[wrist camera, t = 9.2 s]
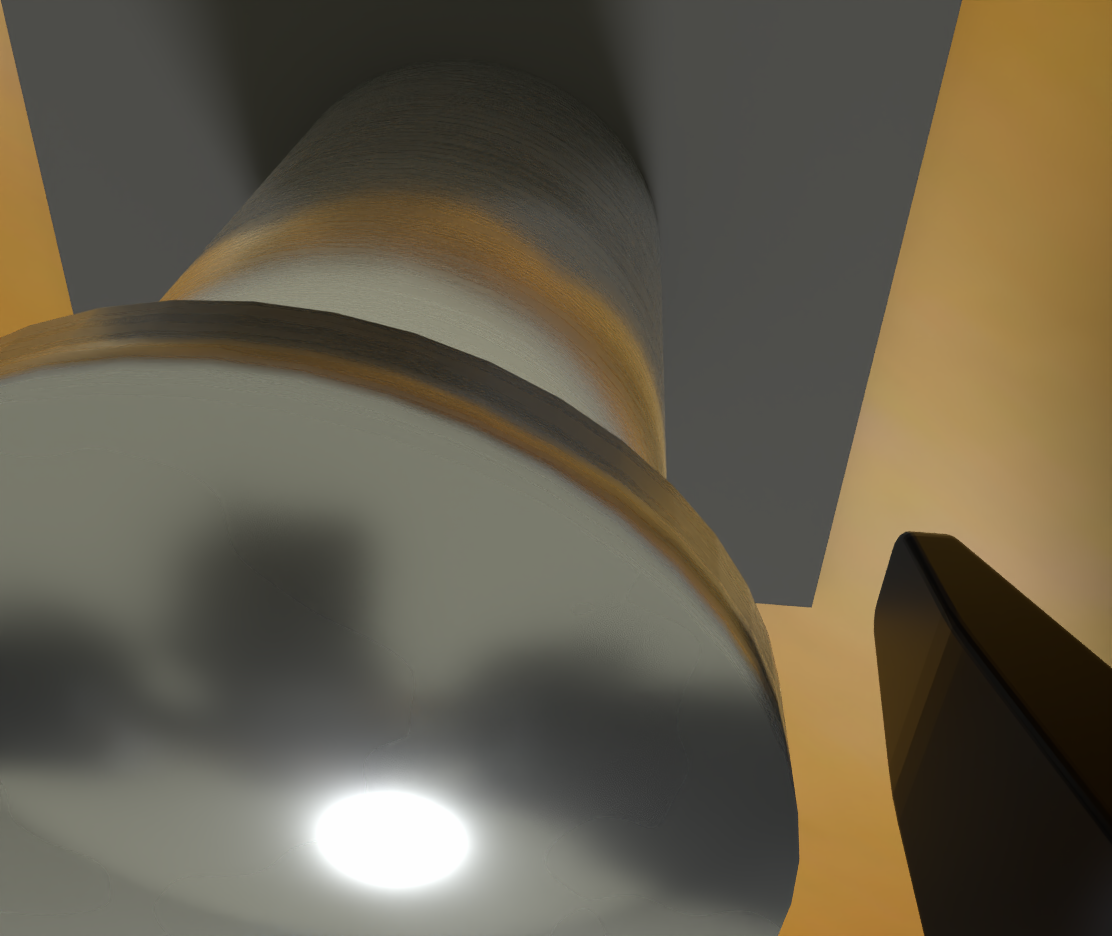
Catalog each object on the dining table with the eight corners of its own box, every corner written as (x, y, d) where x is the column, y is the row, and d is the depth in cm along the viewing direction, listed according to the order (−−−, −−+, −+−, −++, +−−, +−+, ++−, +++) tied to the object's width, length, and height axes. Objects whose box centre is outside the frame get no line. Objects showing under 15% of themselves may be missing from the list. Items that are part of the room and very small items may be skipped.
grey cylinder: (751, 15, 12) (924, 460, 4) (683, 479, 16) (718, 1148, 8) (191, -24, 12) (-527, 343, 5) (253, 443, 16) (-97, 1066, 8)
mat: (1004, -217, 11) (1015, -217, 11) (807, 590, 17) (811, 607, 17) (-45, -280, 11) (-64, -280, 11) (138, 537, 17) (129, 552, 17)
